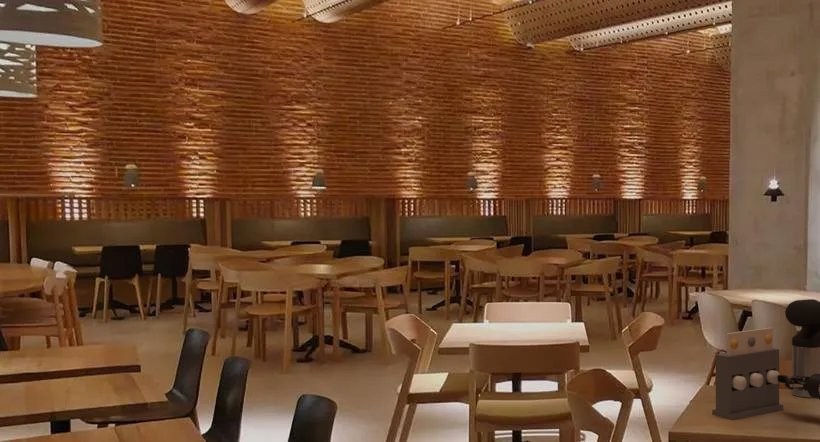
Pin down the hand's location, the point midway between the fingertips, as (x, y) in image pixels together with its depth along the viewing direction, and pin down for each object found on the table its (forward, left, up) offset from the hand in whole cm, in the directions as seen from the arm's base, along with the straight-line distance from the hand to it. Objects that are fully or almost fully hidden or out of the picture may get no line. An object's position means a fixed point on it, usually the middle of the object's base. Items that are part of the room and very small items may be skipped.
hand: (779, 378), depth 276 cm
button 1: (+16, -3, -2) cm, 16 cm away
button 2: (0, -3, -2) cm, 3 cm away
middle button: (+8, -3, -2) cm, 9 cm away
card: (+8, -4, +8) cm, 12 cm away
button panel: (+8, -4, -11) cm, 14 cm away
